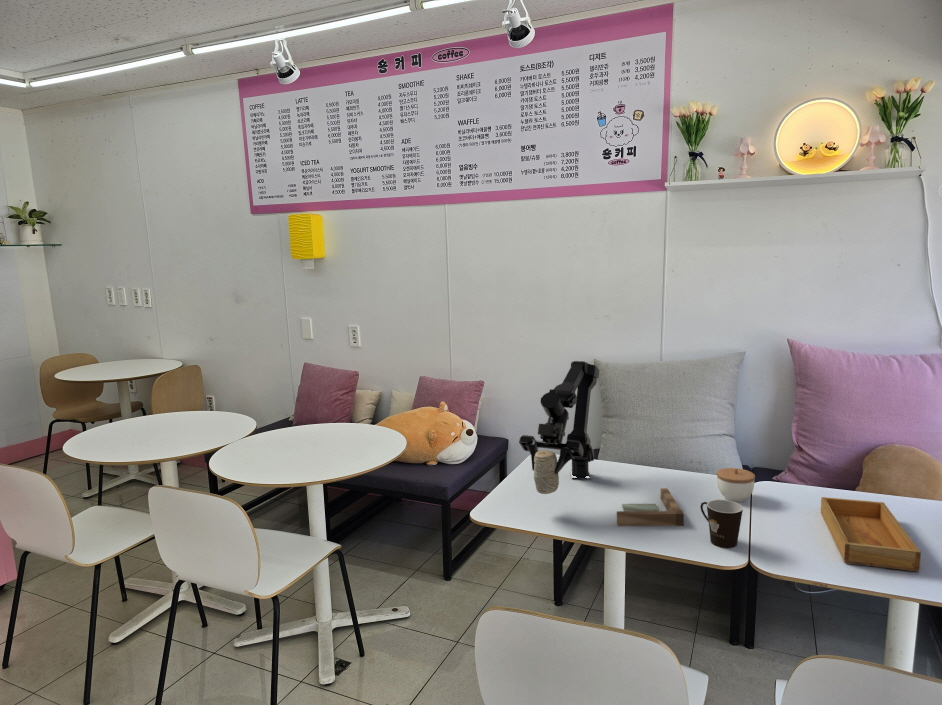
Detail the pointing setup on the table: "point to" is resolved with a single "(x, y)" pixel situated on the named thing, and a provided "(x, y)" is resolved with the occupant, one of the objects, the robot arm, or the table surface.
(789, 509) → the table surface
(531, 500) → the table surface
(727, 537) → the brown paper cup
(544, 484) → the carving
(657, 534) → the table surface
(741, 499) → the lidded jar
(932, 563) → the table surface
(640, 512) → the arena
